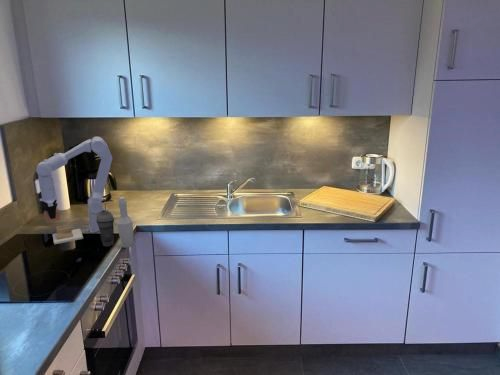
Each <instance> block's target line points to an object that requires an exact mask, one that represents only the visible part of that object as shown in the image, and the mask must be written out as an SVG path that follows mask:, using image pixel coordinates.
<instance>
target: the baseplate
mask: <svg viewBox="0 0 500 375" xmlns="http://www.w3.org/2000/svg"><path fill="white" fill-rule="evenodd" d="M71 231H72V237H67V238H62V239H58V237H57V232H55V233H52V238H53V244H54V245H57V244H63V243H69V242H73V241H77V240H78V241H79V240H83V239H84V236H83V232H82V230H81V228H77V229H71Z"/></svg>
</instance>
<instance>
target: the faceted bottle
mask: <svg viewBox="0 0 500 375" xmlns="http://www.w3.org/2000/svg"><path fill="white" fill-rule="evenodd" d="M127 203H128V202H127V200H126V197H125V196H121V197H118V206H119V207H118V208H119V214H120V217H119V218H118V219H117V230H118V235H119V239H120V243H121V247H122V248H125V249H129V248H130V249H131V248H132V247H133V246H134V226H133V219H132V218H131V217H130V216H129V215H128V206H127Z"/></svg>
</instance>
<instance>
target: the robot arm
mask: <svg viewBox="0 0 500 375" xmlns="http://www.w3.org/2000/svg"><path fill="white" fill-rule="evenodd" d="M107 143H108V142H106V141H105V139H104V138H102V137H101V136H98V135H97V136H93V137H92V138H88V139H87V140H84V141H83V142H81V143H80V144H78V145H76V146H74V147H73V148H71V149H69V150H68V151H66V152H65V153H64V152H58V153H57V152H55V153H54V154H53V156H51V157H49V158H47V159H46V158H45V159H44V160H43V161H40V162H39V163H38V164H37V166H36V169H35V171H36V174H37V176H38V177H37V178H38V183H39V188H40V189H39V190H40V193H41V198H39V202H42V203H43V207H44V209H45V211H47V212H48V214H49V217H50V219H54V218H56V209H57V207H58V202H57V199H58V197H57V194H56V188H55V183H54V178H53V175H52V172H54V171H57V170H58V169H61V168H62V167H63V166H66V165H68V161H69V160H70V159H73V158H74V157H76V156H78V155H80V154H82V153H84V152H85V153H92V152H93V153H95V154H96V155H98V156H99V159H100V163H99V166H98V170H97V174H96V179H95V182H94V185H93V190H92V192H91V195H90V197H88V198H87V205H88V206H87V214H88V222H89V226H88V229H89V232H90V233H91V234H93V233H97V232H100V230H99V226H98V224H97V222H96V220H97V215H98V214H99V213H100V212H101V211H104V210H105V207H104V208H103V206H104V205H103V198H104V193H105V188H106V185H107V180H108V177H109V173H110V169H111V166H112V161H113V156H112V152H111V150H110V148H109V146H108V144H107ZM106 211H109V209H108V208H106Z"/></svg>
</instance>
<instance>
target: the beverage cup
mask: <svg viewBox="0 0 500 375" xmlns="http://www.w3.org/2000/svg"><path fill="white" fill-rule="evenodd" d="M106 209H107V201H106V200H105V201H104V211H101V212H100V213H99V214H98V215H97V220H96V222H97V224H98V226H99V230H100V231H99V235H100V238H101V242H102V245H103V247H111V245H112V246H114V244H115V232H114V229H115V228H114V223H115V218H114V215H113V213H112V212H110V211H109V210H108V211H106Z"/></svg>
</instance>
